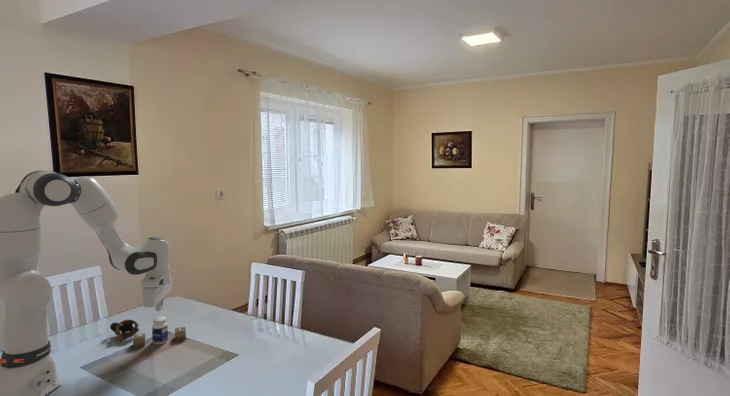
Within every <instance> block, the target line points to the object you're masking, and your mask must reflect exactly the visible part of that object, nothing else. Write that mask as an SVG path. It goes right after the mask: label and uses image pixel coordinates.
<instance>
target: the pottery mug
mask: <svg viewBox="0 0 730 396" xmlns="http://www.w3.org/2000/svg"><path fill="white" fill-rule="evenodd" d="M133 325H134V326H133ZM139 326H140V325H139V324H138V322H137V321H135V320H133V319H124V320H122V321H120V322H112V323H111V324H110V326H109V328H110V330H111V331H112V332H113V333H114V334H115V336H118V337H117V341H118V342H119V343H121V342H122V341H123V340H126V339H129V338H133V336H134V335H136V334H138V332H140V328H139Z"/></svg>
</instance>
